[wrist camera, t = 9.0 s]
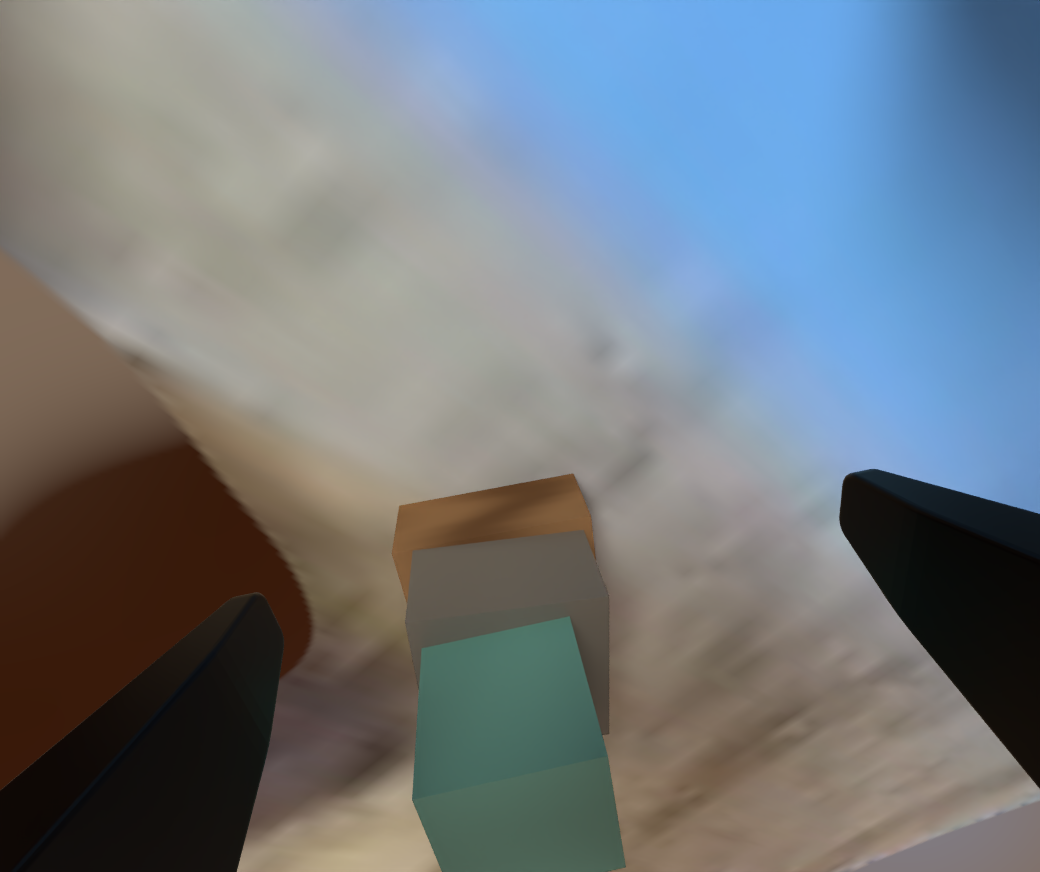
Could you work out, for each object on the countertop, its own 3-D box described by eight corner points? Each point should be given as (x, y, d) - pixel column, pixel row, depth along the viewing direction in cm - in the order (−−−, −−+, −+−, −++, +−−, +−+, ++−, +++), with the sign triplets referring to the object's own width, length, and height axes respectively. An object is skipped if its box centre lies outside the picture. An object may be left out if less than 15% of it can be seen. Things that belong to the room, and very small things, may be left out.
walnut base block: (571, 469, 23) (590, 515, 20) (587, 601, 26) (606, 660, 23) (400, 501, 22) (391, 553, 19) (436, 631, 25) (434, 695, 22)
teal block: (569, 616, 17) (607, 756, 13) (587, 717, 19) (625, 867, 15) (421, 648, 17) (412, 800, 13) (455, 747, 19) (456, 906, 15)
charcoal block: (583, 529, 20) (609, 596, 17) (586, 655, 22) (609, 734, 19) (412, 550, 19) (404, 622, 16) (435, 676, 22) (432, 760, 19)
